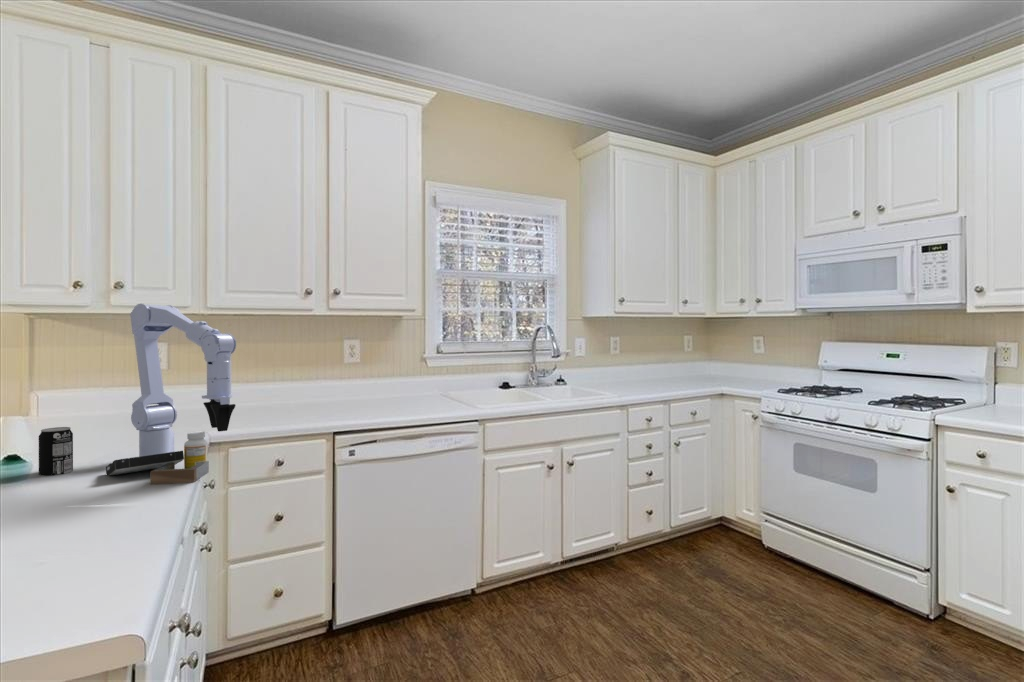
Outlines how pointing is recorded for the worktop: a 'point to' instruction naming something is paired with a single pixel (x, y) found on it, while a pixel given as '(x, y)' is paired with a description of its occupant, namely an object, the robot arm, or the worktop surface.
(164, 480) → the wood and metal frame
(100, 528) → the worktop surface
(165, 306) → the robot arm
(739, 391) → the worktop surface
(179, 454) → the disk drive
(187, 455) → the supplement bottle
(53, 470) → the beverage can
